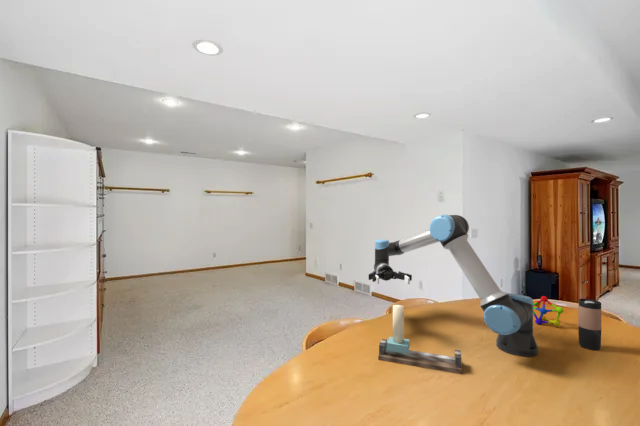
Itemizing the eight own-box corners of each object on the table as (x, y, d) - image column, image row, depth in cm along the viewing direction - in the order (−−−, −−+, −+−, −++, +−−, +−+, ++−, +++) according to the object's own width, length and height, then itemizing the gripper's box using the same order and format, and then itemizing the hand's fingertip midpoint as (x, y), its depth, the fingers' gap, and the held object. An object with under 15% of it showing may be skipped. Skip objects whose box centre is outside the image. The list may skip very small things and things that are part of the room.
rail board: (460, 361, 122) (460, 348, 122) (462, 374, 113) (462, 359, 113) (382, 349, 133) (382, 336, 133) (377, 359, 124) (377, 345, 124)
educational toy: (523, 324, 168) (520, 295, 169) (538, 320, 173) (535, 293, 175) (554, 331, 154) (551, 299, 155) (570, 327, 159) (567, 297, 161)
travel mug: (597, 345, 138) (597, 299, 138) (604, 352, 131) (604, 304, 131) (575, 342, 142) (575, 297, 142) (581, 348, 135) (581, 302, 135)
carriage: (409, 346, 128) (409, 305, 128) (407, 353, 121) (407, 309, 121) (389, 343, 131) (389, 302, 131) (386, 350, 124) (386, 307, 124)
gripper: (409, 279, 161) (421, 289, 140) (360, 278, 162) (365, 288, 141) (409, 264, 161) (421, 272, 140) (360, 264, 162) (365, 272, 141)
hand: (393, 280), depth 140 cm, fingers open, 13 cm apart
